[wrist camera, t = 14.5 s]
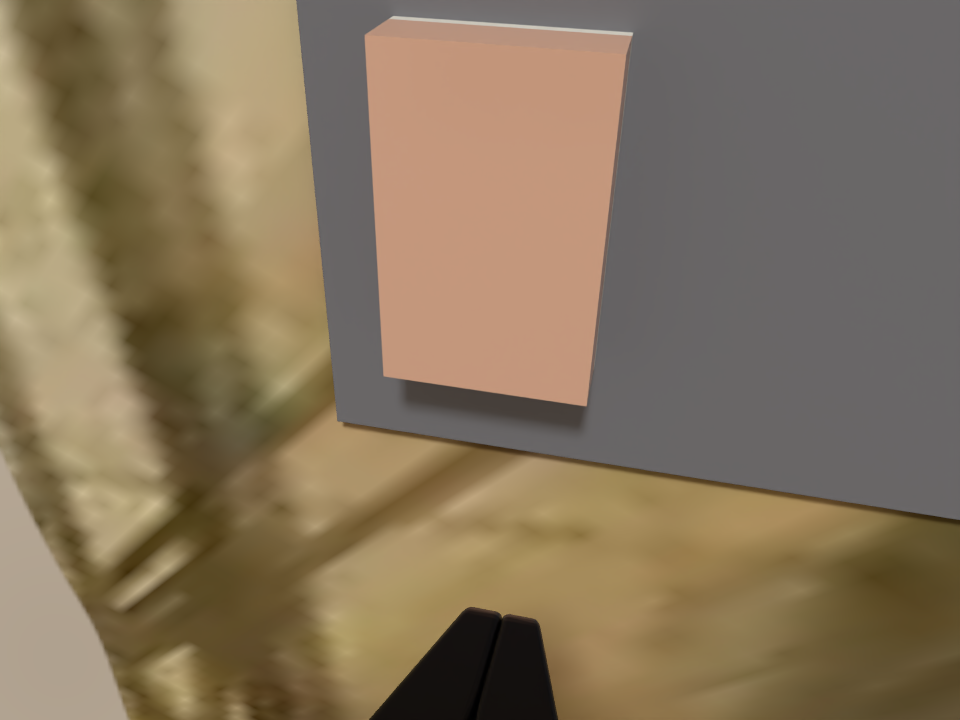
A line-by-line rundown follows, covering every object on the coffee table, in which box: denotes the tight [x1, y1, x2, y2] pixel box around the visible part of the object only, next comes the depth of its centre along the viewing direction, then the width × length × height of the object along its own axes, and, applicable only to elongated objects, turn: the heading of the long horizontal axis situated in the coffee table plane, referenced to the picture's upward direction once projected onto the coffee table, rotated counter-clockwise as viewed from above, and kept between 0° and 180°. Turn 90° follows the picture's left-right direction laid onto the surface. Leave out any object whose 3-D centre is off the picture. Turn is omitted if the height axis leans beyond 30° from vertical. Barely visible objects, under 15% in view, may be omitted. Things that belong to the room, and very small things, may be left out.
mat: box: [296, 0, 960, 520], centre depth 18 cm, size 18×16×1 cm
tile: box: [365, 16, 633, 406], centre depth 18 cm, size 2×8×5 cm
